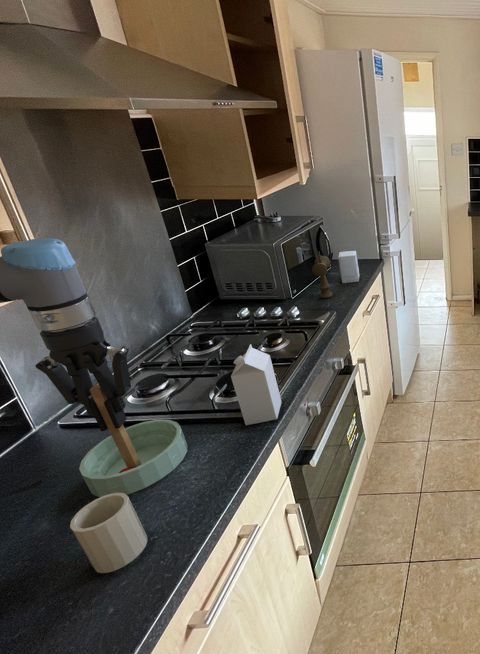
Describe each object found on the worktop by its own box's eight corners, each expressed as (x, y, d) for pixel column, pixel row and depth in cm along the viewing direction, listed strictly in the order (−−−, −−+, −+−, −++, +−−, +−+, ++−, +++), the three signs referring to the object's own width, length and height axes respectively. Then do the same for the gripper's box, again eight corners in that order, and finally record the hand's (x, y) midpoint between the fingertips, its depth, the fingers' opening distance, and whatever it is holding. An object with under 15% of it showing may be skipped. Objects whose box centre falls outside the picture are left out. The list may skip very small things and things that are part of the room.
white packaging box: (359, 281, 187) (355, 255, 182) (341, 283, 185) (337, 257, 181) (360, 275, 194) (356, 250, 189) (343, 277, 192) (339, 251, 187)
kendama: (335, 291, 178) (328, 246, 170) (333, 300, 169) (325, 254, 162) (320, 292, 176) (312, 248, 169) (317, 302, 168) (308, 255, 160)
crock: (85, 581, 70) (59, 537, 66) (109, 541, 76) (86, 498, 72) (137, 568, 72) (114, 524, 68) (156, 530, 78) (136, 488, 74)
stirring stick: (129, 472, 88) (89, 390, 79) (133, 466, 90) (93, 384, 81) (138, 470, 89) (99, 388, 80) (142, 464, 90) (103, 383, 81)
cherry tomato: (124, 486, 87) (138, 481, 87) (110, 484, 85) (125, 480, 85) (127, 471, 89) (141, 466, 89) (114, 469, 86) (128, 464, 86)
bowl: (71, 510, 82) (59, 488, 80) (116, 448, 97) (107, 428, 95) (170, 488, 87) (161, 467, 85) (199, 432, 102) (192, 413, 99)
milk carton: (282, 402, 112) (266, 341, 105) (277, 420, 106) (260, 356, 99) (252, 407, 110) (234, 346, 103) (245, 426, 104) (226, 362, 96)
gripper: (-1, 339, 70) (56, 446, 79) (106, 327, 74) (148, 430, 83) (31, 319, 76) (80, 420, 85) (128, 308, 81) (165, 405, 90)
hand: (114, 424), depth 84 cm, fingers closed on stirring stick, 2 cm apart
